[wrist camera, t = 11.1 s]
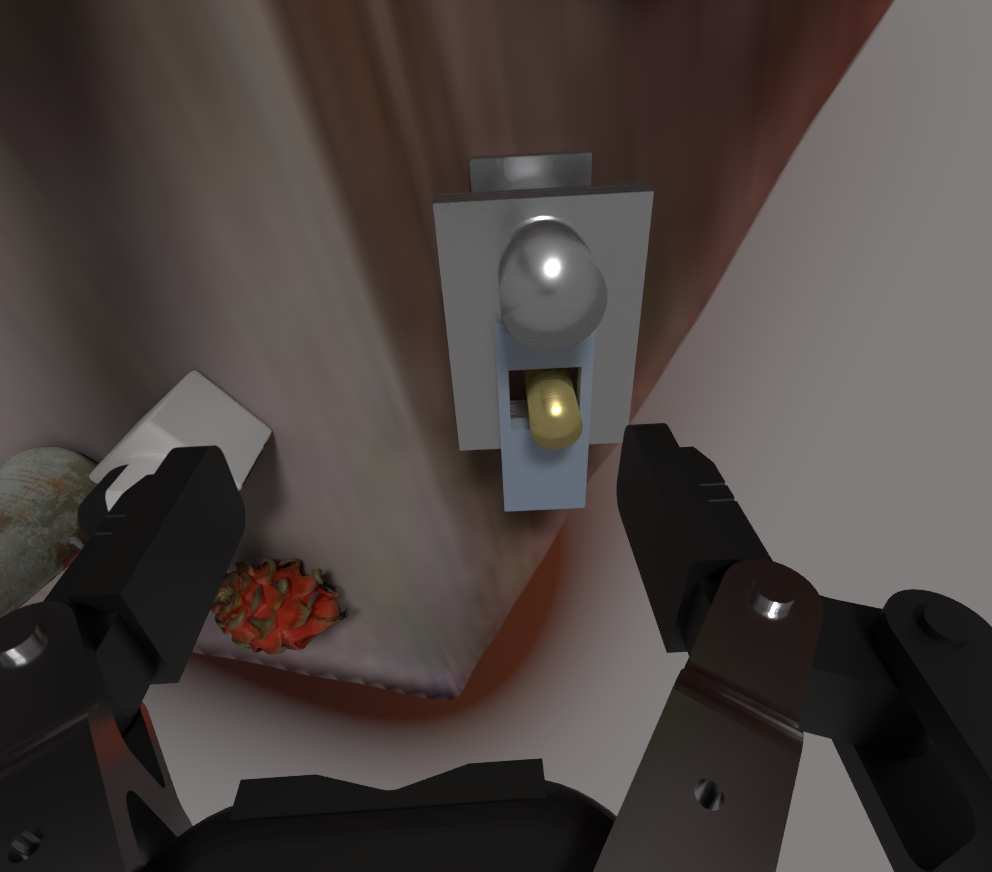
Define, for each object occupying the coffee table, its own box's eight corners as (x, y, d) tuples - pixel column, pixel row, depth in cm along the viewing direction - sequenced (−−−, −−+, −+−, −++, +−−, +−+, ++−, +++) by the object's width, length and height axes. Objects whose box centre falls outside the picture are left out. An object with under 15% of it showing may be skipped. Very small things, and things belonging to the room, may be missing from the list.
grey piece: (464, 377, 40) (456, 507, 29) (443, 158, 32) (421, 220, 21) (600, 370, 40) (646, 498, 29) (615, 149, 32) (688, 205, 21)
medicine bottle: (219, 475, 45) (146, 593, 36) (139, 419, 42) (35, 531, 32) (275, 429, 43) (213, 543, 33) (195, 366, 40) (99, 471, 30)
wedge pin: (517, 305, 37) (530, 408, 27) (556, 303, 37) (584, 405, 27) (518, 341, 39) (531, 451, 28) (555, 339, 39) (581, 448, 28)
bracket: (500, 421, 43) (504, 511, 34) (492, 267, 36) (494, 333, 28) (565, 417, 43) (584, 507, 34) (569, 263, 36) (595, 328, 27)
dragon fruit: (223, 537, 52) (352, 554, 56) (203, 627, 51) (334, 637, 56) (210, 560, 44) (361, 578, 48) (186, 667, 43) (340, 675, 48)
